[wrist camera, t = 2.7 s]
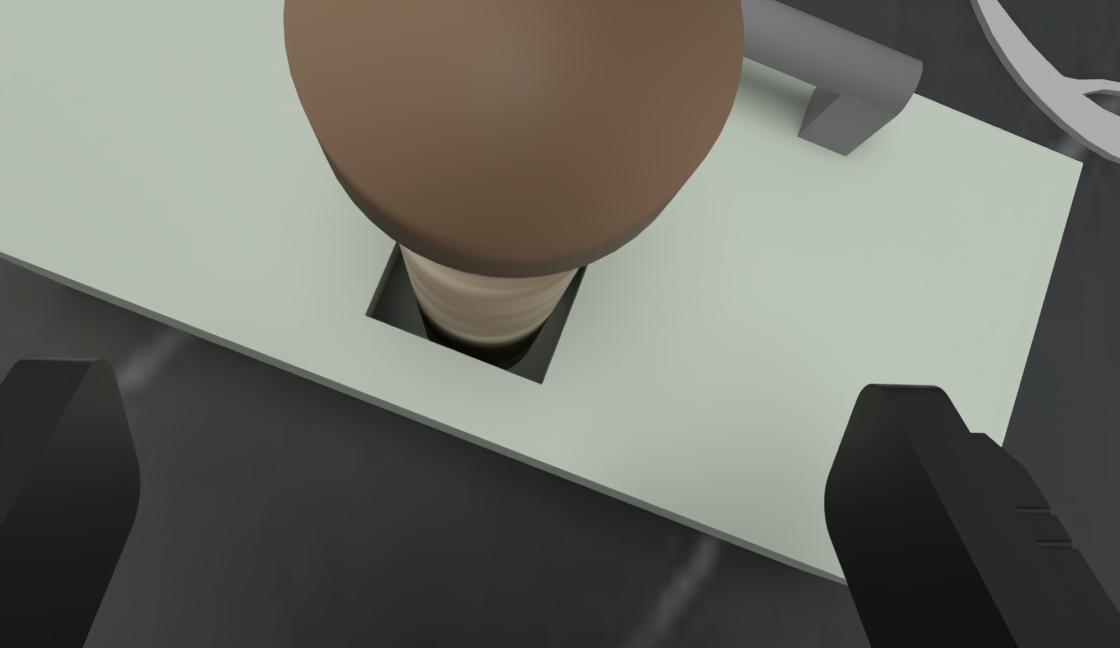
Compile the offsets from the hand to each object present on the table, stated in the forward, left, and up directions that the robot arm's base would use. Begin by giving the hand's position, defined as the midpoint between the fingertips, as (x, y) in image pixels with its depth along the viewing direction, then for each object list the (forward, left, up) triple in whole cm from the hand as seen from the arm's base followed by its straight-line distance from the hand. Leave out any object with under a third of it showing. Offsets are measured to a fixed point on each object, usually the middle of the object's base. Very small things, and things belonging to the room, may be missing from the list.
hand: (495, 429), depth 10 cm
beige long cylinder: (-1, +4, -17) cm, 18 cm away
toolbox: (-1, +6, -18) cm, 19 cm away
